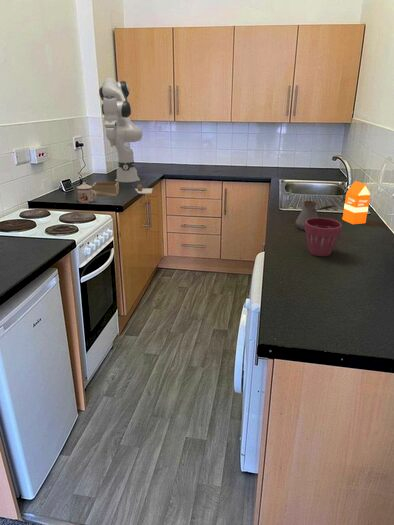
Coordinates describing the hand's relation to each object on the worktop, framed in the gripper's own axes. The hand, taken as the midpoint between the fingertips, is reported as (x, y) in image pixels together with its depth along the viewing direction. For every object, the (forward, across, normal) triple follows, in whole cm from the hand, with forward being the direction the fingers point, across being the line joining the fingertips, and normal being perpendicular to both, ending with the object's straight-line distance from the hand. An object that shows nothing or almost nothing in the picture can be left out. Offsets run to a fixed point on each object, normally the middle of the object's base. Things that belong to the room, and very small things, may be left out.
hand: (113, 145), depth 254 cm
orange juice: (+30, +78, +131) cm, 155 cm away
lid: (+30, +4, +16) cm, 34 cm away
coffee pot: (+30, +93, +105) cm, 143 cm away
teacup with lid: (+29, +32, -13) cm, 45 cm away
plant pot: (+30, +120, +98) cm, 158 cm away
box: (+29, +13, -5) cm, 32 cm away
